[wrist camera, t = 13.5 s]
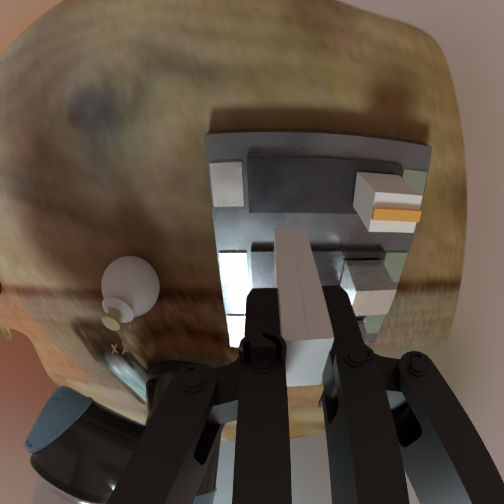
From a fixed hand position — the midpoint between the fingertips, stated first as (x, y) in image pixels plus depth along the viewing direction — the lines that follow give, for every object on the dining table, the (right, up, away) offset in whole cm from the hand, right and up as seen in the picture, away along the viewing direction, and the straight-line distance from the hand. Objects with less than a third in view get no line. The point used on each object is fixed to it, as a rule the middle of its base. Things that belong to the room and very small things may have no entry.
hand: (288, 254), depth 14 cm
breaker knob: (+8, +5, +6) cm, 11 cm away
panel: (+4, -1, +12) cm, 13 cm away
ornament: (-14, -2, +15) cm, 20 cm away
